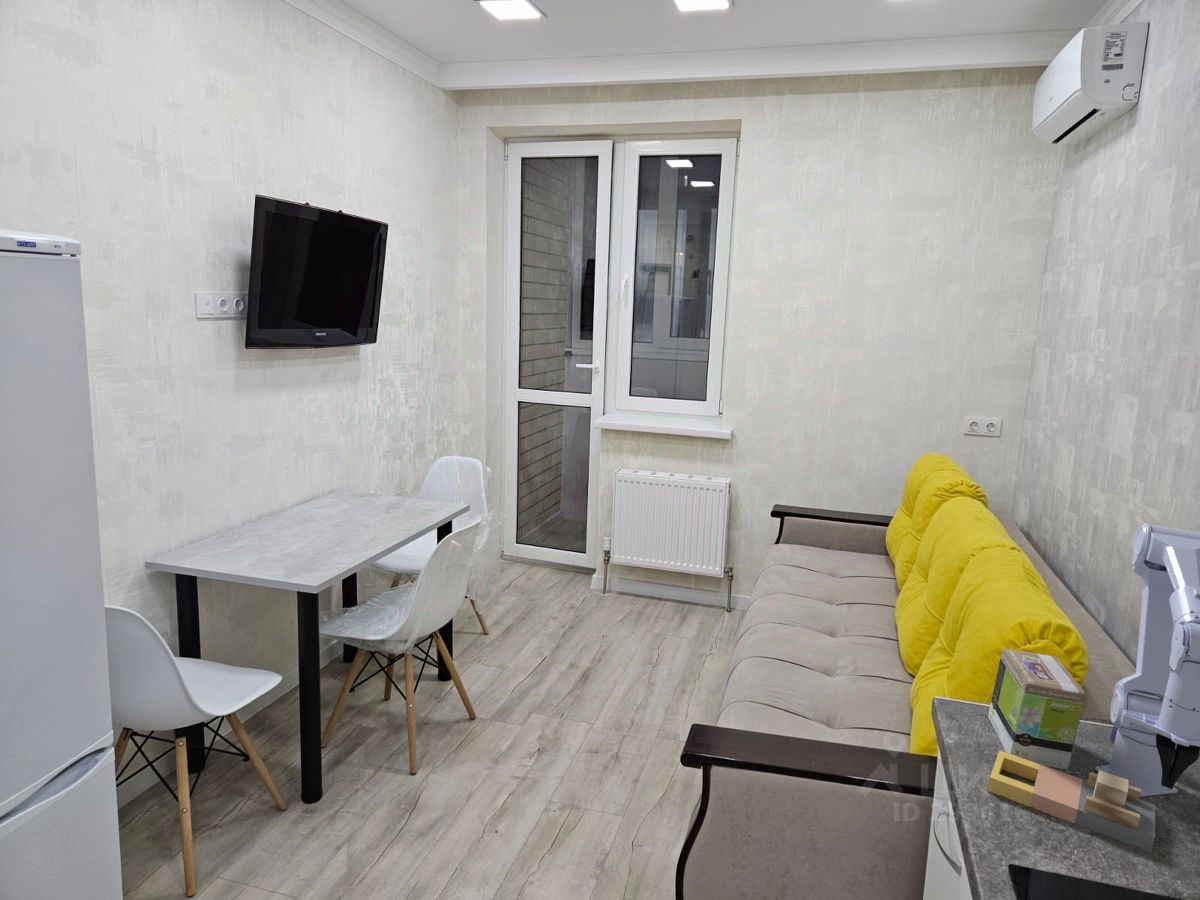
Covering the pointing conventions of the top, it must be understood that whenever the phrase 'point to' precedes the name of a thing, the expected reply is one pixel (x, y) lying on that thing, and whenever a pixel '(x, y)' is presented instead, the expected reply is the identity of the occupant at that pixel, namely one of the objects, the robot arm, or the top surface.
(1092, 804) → the channel walls
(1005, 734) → the tea box
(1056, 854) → the top surface
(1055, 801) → the board
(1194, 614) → the robot arm
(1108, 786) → the birch block
